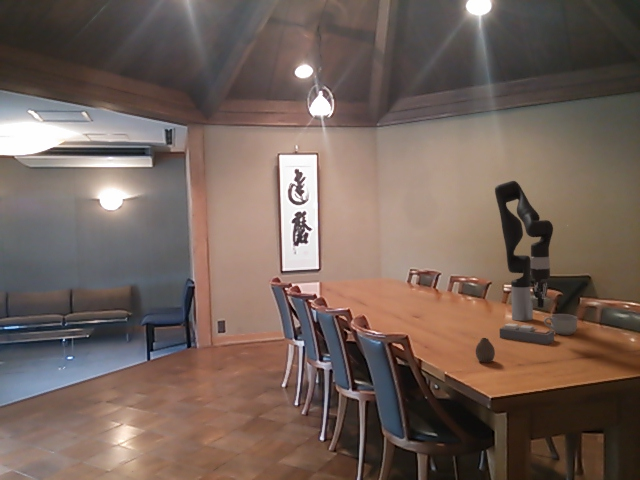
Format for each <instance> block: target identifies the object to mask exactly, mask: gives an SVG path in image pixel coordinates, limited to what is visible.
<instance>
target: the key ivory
mask: <svg viewBox="0 0 640 480" xmlns="http://www.w3.org/2000/svg"><path fill="white" fill-rule="evenodd" d="M503 327H504V329H511V330H516V329H518V328H519V327H520V326H519V324H517V323H506V324H504V325H503Z"/></svg>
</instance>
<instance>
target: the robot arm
mask: <svg viewBox="0 0 640 480" xmlns="http://www.w3.org/2000/svg"><path fill="white" fill-rule="evenodd" d="M494 194H495V199H496V202H497V206H498V210H499V211H498V212H499V215H500V221H501V229H502V234H503V235H502V236H503V240H504V244H505V251H506V253H505V254H506V262H507V269H508V271H509V272H510V273H512V274H523V275H521V276H520V277H518V278H515V279H513V280H511V283H510V286H511V287H510V288H511V319H512V320H514V321H519V322H522V321H523V322H528V321H531V320H533V319H534V317H533V315H534V314H533V313H534V311H533V310H534V309H533V308H534V305H533V301H532V298H531V297H532V296H531V295H532V294H531V293H532V292H533V294H534V297H535V298H536V299H537V308H541V309H543V308H545V299H546V297H547V293H548V290H549V283H547V280H549V279H550V278H551V263H550V244H551V240H552V236H553V233H554V225H553V223H552V222H551V221H550V220H549V219H548V220H546V219H545V220H540V215H539V213H538V212H537V211H536V209H535V208H534V207H533V206H532V204H530V202H529V200H528V197H527V196H526V194H525V192H524V190H523V189H522V186H521V185H520V184H519V182H517V181H516V180H510V181H507V182H504V183H501V184H497V185H496V186H495V188H494ZM516 200H518V202H517V207H516V215H515V214H514V213H513V212H511V211H510V210H509V208H508V206H507V203H510V202H514V201H516ZM517 216H518V217H519V218H518V217H517ZM521 221H522V222H521ZM522 223H523V224H522ZM523 225H524V229H525V233H526V235H527V236H529V237H531V238H540V239H539V241H536V242H532V244H531V246H530V256H529V255H522V254H521V255H519V254H518V255H515V250H516V248H517V246H518V245H519V243H520V242H521V241H522V239H523V236H524V231H523ZM531 279H534V282H533V283H534V284H533V286H532V287H531ZM531 288H532V291H531Z"/></svg>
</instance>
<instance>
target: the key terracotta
mask: <svg viewBox="0 0 640 480" xmlns="http://www.w3.org/2000/svg"><path fill="white" fill-rule="evenodd" d="M537 329H538V328H537ZM549 331H550V330H546V329H538V330H536V331H534V333H541V334H547V333H549Z"/></svg>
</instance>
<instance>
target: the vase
mask: <svg viewBox="0 0 640 480" xmlns="http://www.w3.org/2000/svg"><path fill="white" fill-rule="evenodd" d="M475 356H476V358H477V360H478V361H479V362H481V363H485V364H489V363H491V362H492V361H493V360H494V359H495V357H496V351H495V347H494V345H493V344H492V343H491V342H490V340H489V338H487V337H482V338H480V341H479V342H478V343H477V345H476V346H475Z"/></svg>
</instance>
